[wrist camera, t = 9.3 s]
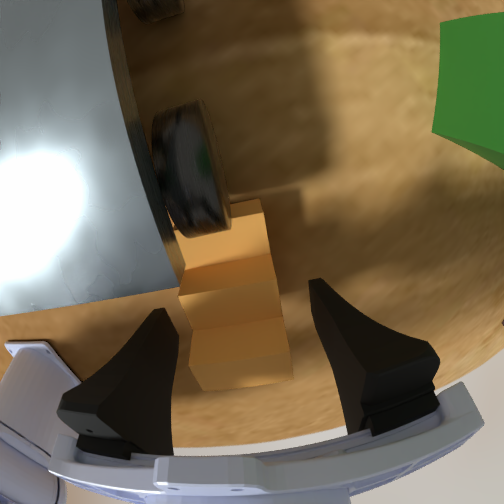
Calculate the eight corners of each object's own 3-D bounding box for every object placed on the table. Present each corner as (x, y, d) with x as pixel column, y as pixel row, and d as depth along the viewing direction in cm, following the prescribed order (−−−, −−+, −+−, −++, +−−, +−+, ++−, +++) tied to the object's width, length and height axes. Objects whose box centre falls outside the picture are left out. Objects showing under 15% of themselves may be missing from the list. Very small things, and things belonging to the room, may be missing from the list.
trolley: (232, 203, 13) (230, 276, 8) (31, 259, 14) (-20, 318, 8) (174, -44, 6) (143, -110, 1) (-19, 74, 7) (-85, 85, 2)
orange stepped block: (276, 295, 16) (293, 379, 11) (210, 307, 16) (203, 391, 11) (259, 198, 13) (276, 261, 8) (179, 214, 13) (146, 285, 8)
